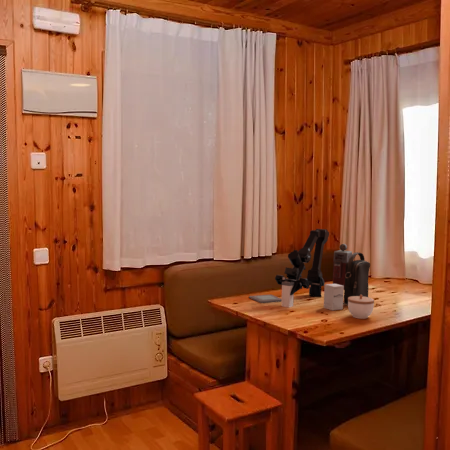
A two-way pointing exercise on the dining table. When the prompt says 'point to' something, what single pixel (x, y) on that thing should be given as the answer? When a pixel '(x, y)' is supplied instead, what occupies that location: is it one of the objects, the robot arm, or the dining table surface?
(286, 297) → the block
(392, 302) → the dining table surface
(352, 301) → the lidded bowl
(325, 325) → the dining table surface
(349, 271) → the shoulder bag
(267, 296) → the pad
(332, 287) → the supplement box
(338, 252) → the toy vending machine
